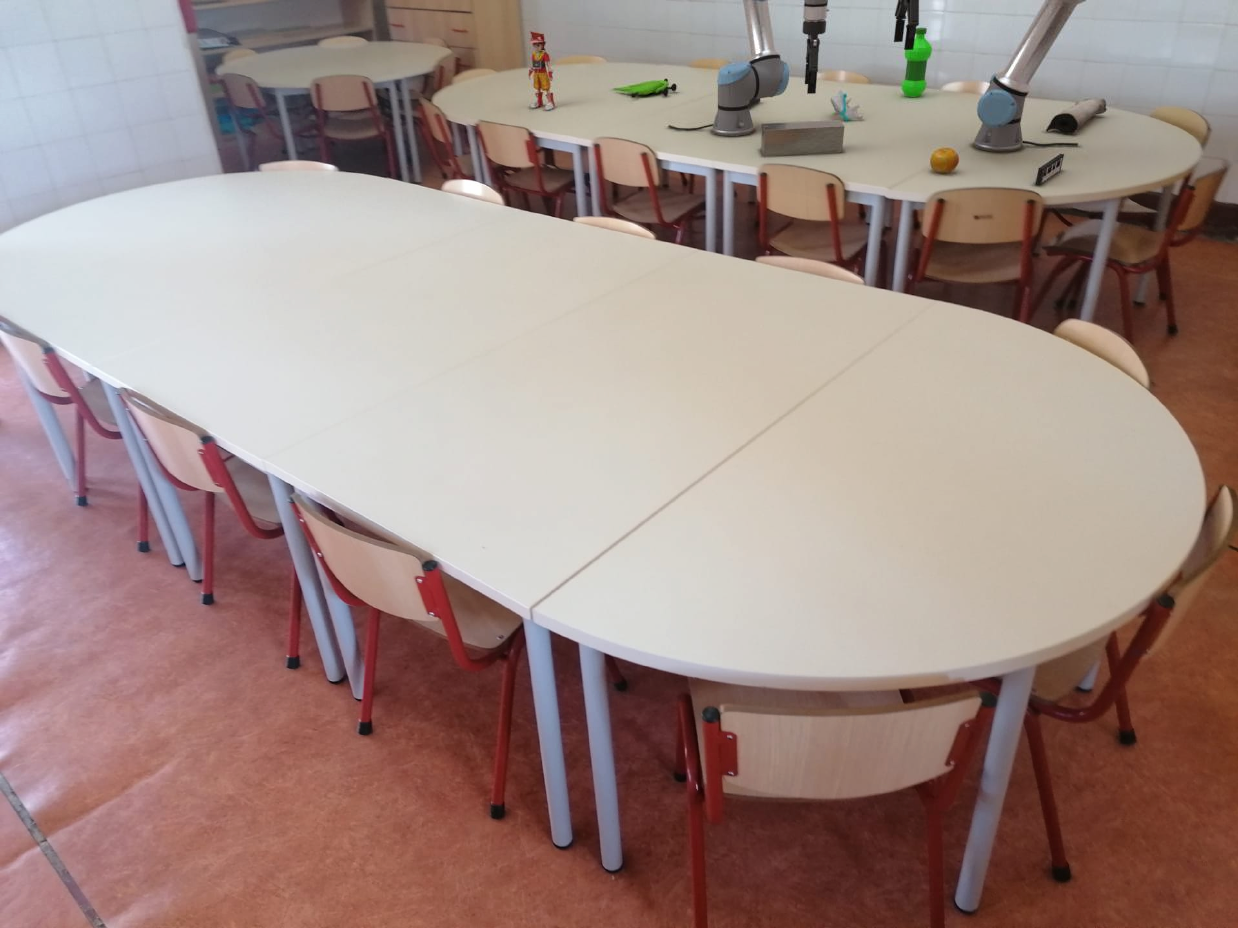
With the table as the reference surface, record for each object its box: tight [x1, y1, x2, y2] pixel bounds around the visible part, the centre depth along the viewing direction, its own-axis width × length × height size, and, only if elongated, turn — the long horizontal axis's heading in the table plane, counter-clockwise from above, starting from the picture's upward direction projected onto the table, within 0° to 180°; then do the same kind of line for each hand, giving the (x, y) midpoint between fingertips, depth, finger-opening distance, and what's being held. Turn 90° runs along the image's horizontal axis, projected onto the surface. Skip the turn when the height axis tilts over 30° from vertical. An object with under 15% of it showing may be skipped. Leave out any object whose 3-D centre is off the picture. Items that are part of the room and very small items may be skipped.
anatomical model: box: [830, 89, 864, 121], centre depth 343 cm, size 15×10×10 cm
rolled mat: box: [1045, 97, 1108, 135], centre depth 319 cm, size 30×9×10 cm
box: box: [760, 119, 845, 157], centre depth 309 cm, size 27×8×9 cm, turn 89°
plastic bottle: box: [901, 27, 933, 98], centre depth 359 cm, size 10×10×25 cm
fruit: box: [929, 147, 960, 174], centre depth 283 cm, size 8×8×8 cm
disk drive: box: [749, 98, 761, 108], centre depth 367 cm, size 10×3×15 cm
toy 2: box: [612, 78, 677, 99], centre depth 396 cm, size 28×5×30 cm
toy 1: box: [527, 31, 556, 111], centre depth 374 cm, size 12×9×30 cm
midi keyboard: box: [1035, 153, 1065, 186], centre depth 273 cm, size 18×1×5 cm, turn 138°
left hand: (810, 88), depth 305 cm, fingers open, 13 cm apart
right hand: (903, 46), depth 290 cm, fingers open, 13 cm apart
